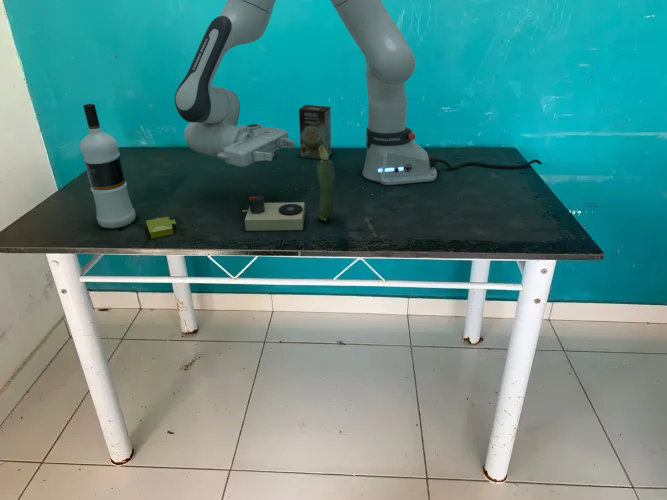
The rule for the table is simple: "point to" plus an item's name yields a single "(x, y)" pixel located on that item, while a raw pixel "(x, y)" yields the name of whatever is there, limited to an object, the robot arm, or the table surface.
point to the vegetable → (325, 184)
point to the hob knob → (257, 204)
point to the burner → (290, 209)
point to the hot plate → (274, 218)
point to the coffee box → (314, 130)
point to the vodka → (105, 175)
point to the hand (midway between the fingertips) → (283, 150)
